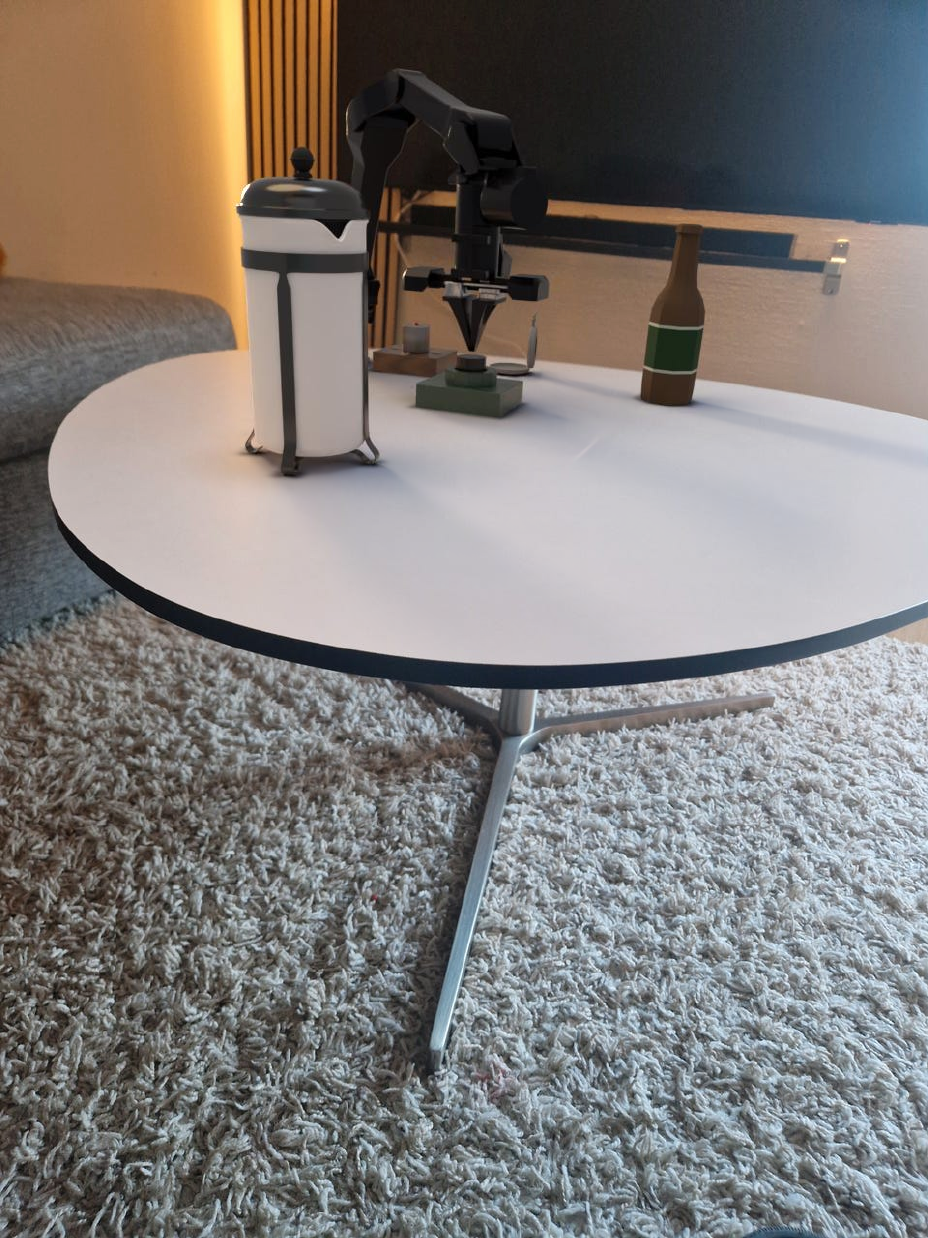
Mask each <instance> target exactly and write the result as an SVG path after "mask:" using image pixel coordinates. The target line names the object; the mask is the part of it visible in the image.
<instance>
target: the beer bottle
mask: <svg viewBox="0 0 928 1238" xmlns="http://www.w3.org/2000/svg"><path fill="white" fill-rule="evenodd" d="M674 232H675V233H676V238H675V245H674V248H673V254H672V259H671V265H670V270H669V274H668V277H667V280H666V284H665V286H664V288H663V289H662V290H661V292H659V294H658V295H657V297H656V299H655V300H654V303H653V305H652V307H651V311H650V315H649V320H648V327H647V336H646V343H645V352H644V358H643V367H642V375H641V382H640V394H639V395H640V396H639V397H640V399H641V400H643V401H645V402H647V403H649V404H656V405H663V406H687V405H688V404H689V403H691V402H692V400H693V396H694V391H695V386H696V379H697V374H698V368H699V360H700V353H701V347H702V341H703V334H704V327H705V317H706V310H705V302H704V299H703V297H702V294H701V292H700V290H699V288H698V268H699V257H700V247H701V246H700V245H701V236H702V235H703V234H704V227H703V225H702V224H699V223H683V222H682V223H679V224H677V226H676V227H675V231H674Z"/></svg>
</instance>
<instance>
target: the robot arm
mask: <svg viewBox="0 0 928 1238" xmlns="http://www.w3.org/2000/svg"><path fill="white" fill-rule="evenodd" d="M419 121H421V122H422V123H424V124H425V125H427V127H429V128H431V129H432V130H433V131H434V132H436V133H437V134H438V135H440V136H441V138H442V141H443V142H442V143H443V144H442V146H443V148H444V149H445V151H446V152H447V153H448V154H449V156H450V157H451V158H452V159H453V160H454V162H456V163H457V164H459V165H458V166H457V168H456V169H455V171H454V172H452V173H451V174H450V175H449V177H447V178H448V179H447V183H448V184H449V185H456V199H455V200H456V201H455V228H454V229H455V232H453V233H451V243H454V257H453V259H454V260H453V267H451V268H450V273H446V271H445V268H444V267H440V266H439V267H437V266H424V265H418V266H412V267H407V268H406V270H404V272H403V274H402V279H401V280H402V281H401V283H402V285H401V290H402V291H403V292H404V291H405V292H414V293H415V292H417V293H424V292H425V291H426V290H427V289H434V290H435V289H438V290H439V289H444V295H443V296H442V297H441V300H442V301H443V302H446V303H448V304H449V307H450V309H451V311H452V313H453V316H454V317H455V319H456V321H457V324H458V326H459V329H460V332H461V334H462V337H463V340H464V343H465V346H466V349H467V351H468V352H470V353H471V352H472V353H475V352H477V350H478V348H479V345H480V342H481V341H482V337H483V334H484V332H485V329H486V327H487V324H488V321H489V320H490V318H491V315H492V313H493V312H494V310H495V309H496V307H497V306H498V305H500V304H503V303H506V302H507V296H506V294H507V295H508V296H509V297H510V299H511V300H512V301H523V302H540V301H543V300H547V299H549V294H550V281H549V279H548V277H547V276H546V275H545V274H531V273H530V274H529V273H517V274H513V275H511V270H512V265H513V257H512V256H511V255H510V254H509V253H508V251H507V250H505V249H504V246H503V244H504V243H503V242H504V239H503V234H501V228H502V229H514V230H525V231H530V230H531V231H532V230H534V229H537V228H538V227H539V226H540V225H541V224H542V223H543V221H544V219H545V218H546V216H547V213H548V207H549V198H548V196H547V195H548V194H547V191H546V189H545V186H544V185H543V183H542V181H540V179H538V178H537V176H538V175H537V174H538V168H537V167H536V166H526V161H525V159H524V157H523V154H522V152H521V149H520V146H519V144H518V141H517V139H516V138H517V137H516V135H515V132H514V130H513V126H514V125H513V123H512V121H511V119H510V118H509V117H508V116H506V115H505V114H500V113H497V112H494V111H490V110H486V109H480V108H476V107H472V106H469V105H467V104H466V103H464V102H463V101H461V100H460V99H458V98H456V97H455V96H454V95H452V94H451V93H450V92H448V91H446V90H445V89H444V88H443V87H441V86H440V85H438V84H436V83H435V82H433V81H431V80H430V79H429V78H428V76H427V75H426V74H424V73H423V72H421V71H420V70H419V71H418V70H411V69H402V68H395V69H393V70H390V71H389V72H387V74H386V75H385V76H384V77H383V78H382V79H381V80H378V81H376V82H374V83H372V84H371V85H368V86H366V87H364V88H362V89H361V90H360V91H359V93H357V94H356V96H355V97H354V99H351V100H350V102H349V105H348V107H347V109H346V141H347V144H348V146H349V149H350V151H351V154H352V156H353V165H352V172H351V178H350V179H351V180H350V185H351V186H353V187H355V188H356V189H357V190H358V191H359V192H360V193H361V195H362V196H363V199H364V202H365V206H366V209H367V210H370V219H369V222H368V223H367V226H366V251H369V270H368V272H367V280H368V325H374V319H375V314H376V310H377V309H376V308H377V306H378V305H379V300H378V299H379V293H380V290H381V282H380V280H379V279H377V276H376V275H375V272H374V270H373V267H372V260H373V255H374V249H375V244H376V237H377V233H378V227H379V226H378V225H379V219H380V215H381V208H382V202H383V197H384V192H385V191H384V190H385V185H386V179H387V174H388V171H389V170H388V169H389V168H390V167H391V166H392V164H393V163H394V161H396V159H397V158H398V157H399V156H400V154H401V153H402V151H403V148H404V144H405V141H406V137H407V134H408V132H409V131H410V130H412V128H413V127H414V126H415V125H416V124H417V123H418V122H419ZM467 279H468V280H467ZM473 291H474V292H478V294H474V293H472V292H473ZM370 359H371V357H370V356H368V362H369V361H370Z"/></svg>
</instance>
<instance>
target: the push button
mask: <svg viewBox="0 0 928 1238" xmlns="http://www.w3.org/2000/svg"><path fill="white" fill-rule="evenodd" d="M486 366H487V356H486V355H483V354H477V353H460V354H457V369H456V370H459V371H465V372H484V371H486Z"/></svg>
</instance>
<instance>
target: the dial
mask: <svg viewBox="0 0 928 1238" xmlns="http://www.w3.org/2000/svg"><path fill="white" fill-rule="evenodd" d="M401 337H402V338H401V339H402V341H401V343H402V344H401V345H402V350H403V351H404V352H409V353H427V352H429V351H430V348H431V347H430V345H431V344H430V343H431V325H430V324H426V323H419V322H418V321H417V320H416V321H415V320H413V321H412V322H410V323H409V322H408V323H407V322H406V323H403V324H402V336H401Z"/></svg>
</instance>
